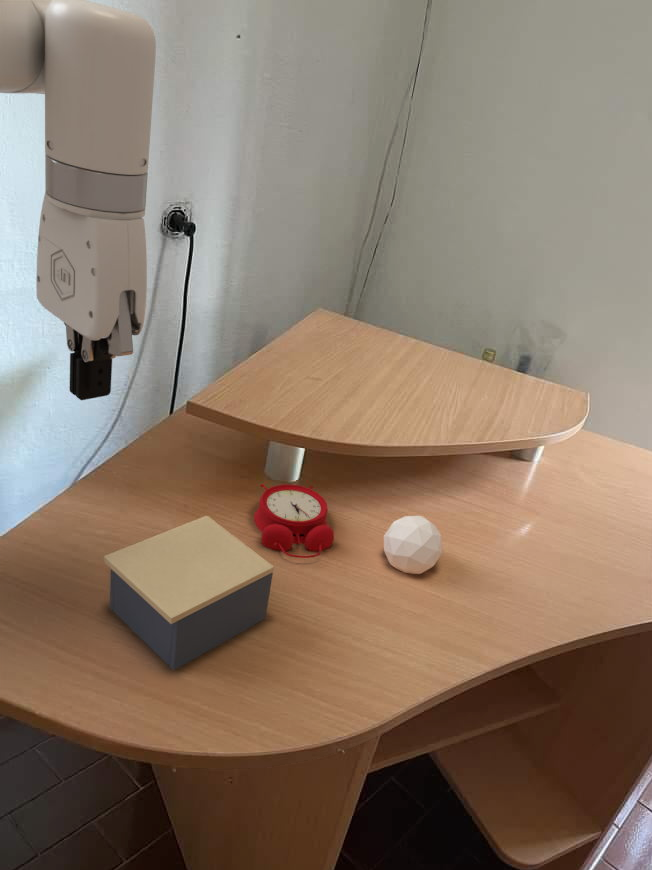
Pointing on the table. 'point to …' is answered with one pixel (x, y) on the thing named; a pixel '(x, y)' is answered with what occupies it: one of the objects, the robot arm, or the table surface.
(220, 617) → the chest
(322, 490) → the table surface
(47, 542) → the table surface
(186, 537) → the lid
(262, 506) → the alarm clock
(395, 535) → the geometric ball
